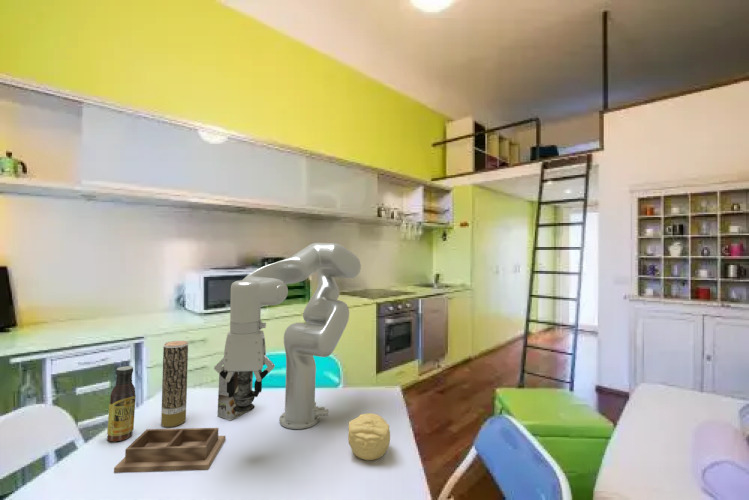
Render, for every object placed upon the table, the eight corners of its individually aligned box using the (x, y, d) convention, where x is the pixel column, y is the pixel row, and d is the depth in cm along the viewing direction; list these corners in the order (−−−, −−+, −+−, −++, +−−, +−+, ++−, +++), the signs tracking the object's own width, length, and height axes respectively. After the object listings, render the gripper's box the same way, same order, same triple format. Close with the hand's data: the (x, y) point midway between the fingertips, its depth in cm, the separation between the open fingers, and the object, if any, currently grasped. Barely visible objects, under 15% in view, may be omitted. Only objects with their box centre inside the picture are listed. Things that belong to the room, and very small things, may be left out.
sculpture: (343, 463, 93) (345, 422, 93) (353, 440, 105) (354, 403, 105) (387, 468, 92) (388, 427, 92) (391, 444, 104) (392, 407, 104)
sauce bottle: (112, 445, 99) (115, 373, 99) (102, 438, 102) (105, 369, 102) (138, 435, 104) (140, 367, 104) (128, 429, 107) (130, 363, 107)
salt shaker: (236, 403, 97) (236, 359, 97) (258, 402, 98) (258, 359, 97) (229, 413, 91) (229, 366, 91) (252, 413, 92) (253, 366, 92)
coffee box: (230, 421, 114) (232, 371, 114) (216, 416, 117) (218, 367, 117) (252, 410, 122) (253, 363, 123) (238, 405, 125) (240, 360, 125)
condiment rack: (225, 439, 103) (225, 424, 103) (207, 469, 89) (208, 451, 89) (144, 441, 101) (145, 425, 101) (113, 472, 87) (114, 454, 87)
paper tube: (190, 418, 115) (192, 341, 115) (176, 428, 108) (179, 346, 108) (170, 416, 116) (173, 340, 116) (155, 427, 109) (158, 345, 109)
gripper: (280, 324, 99) (279, 388, 99) (216, 324, 97) (215, 390, 97) (276, 330, 91) (275, 400, 92) (206, 331, 89) (205, 402, 90)
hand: (244, 394), depth 94 cm, fingers closed on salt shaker, 5 cm apart
